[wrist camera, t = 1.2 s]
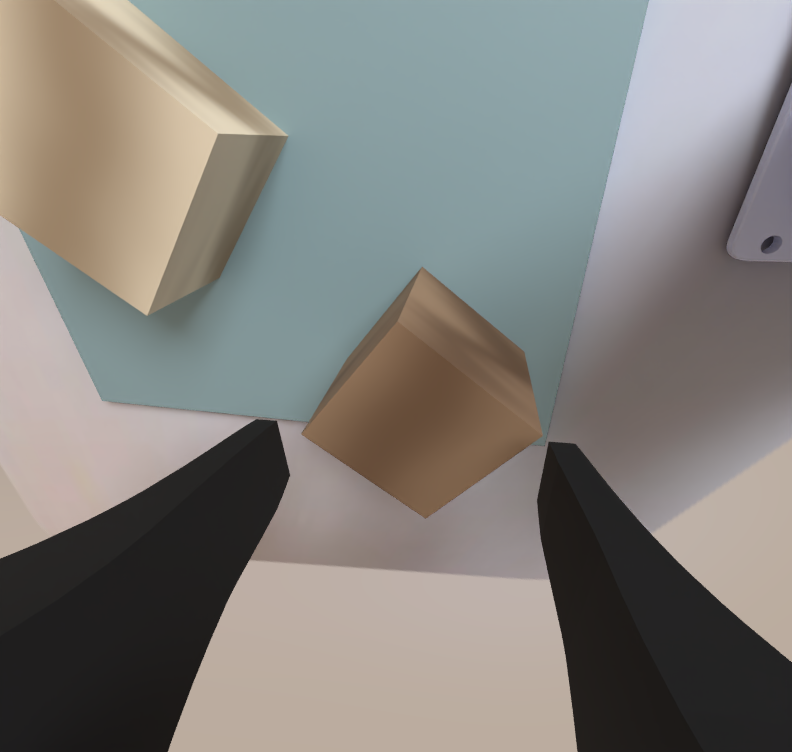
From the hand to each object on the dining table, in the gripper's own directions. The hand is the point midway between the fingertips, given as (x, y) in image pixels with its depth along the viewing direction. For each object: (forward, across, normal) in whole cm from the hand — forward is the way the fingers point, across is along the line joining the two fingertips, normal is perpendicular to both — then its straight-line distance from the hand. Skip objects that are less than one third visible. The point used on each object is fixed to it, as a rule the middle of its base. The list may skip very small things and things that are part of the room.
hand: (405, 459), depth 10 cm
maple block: (+6, +9, -7) cm, 13 cm away
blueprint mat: (+6, +6, -5) cm, 10 cm away
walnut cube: (+6, 0, 0) cm, 6 cm away
